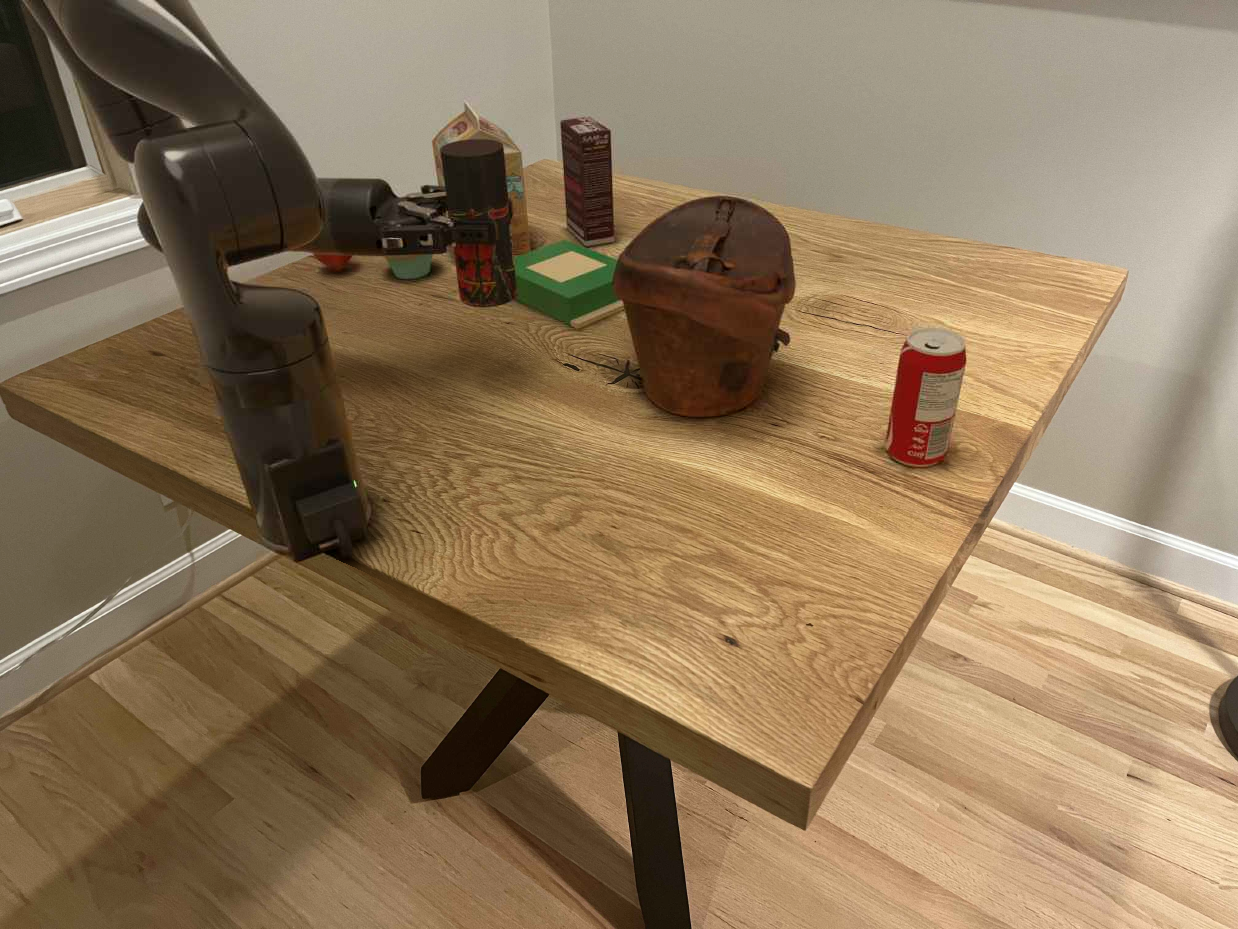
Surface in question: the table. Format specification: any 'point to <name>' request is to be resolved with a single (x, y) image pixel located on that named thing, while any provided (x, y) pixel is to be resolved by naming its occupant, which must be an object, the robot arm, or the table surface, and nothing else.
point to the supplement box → (588, 180)
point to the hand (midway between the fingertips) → (504, 220)
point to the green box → (567, 283)
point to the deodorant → (480, 195)
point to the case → (706, 303)
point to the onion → (334, 260)
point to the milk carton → (481, 128)
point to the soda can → (925, 396)
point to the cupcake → (410, 265)
